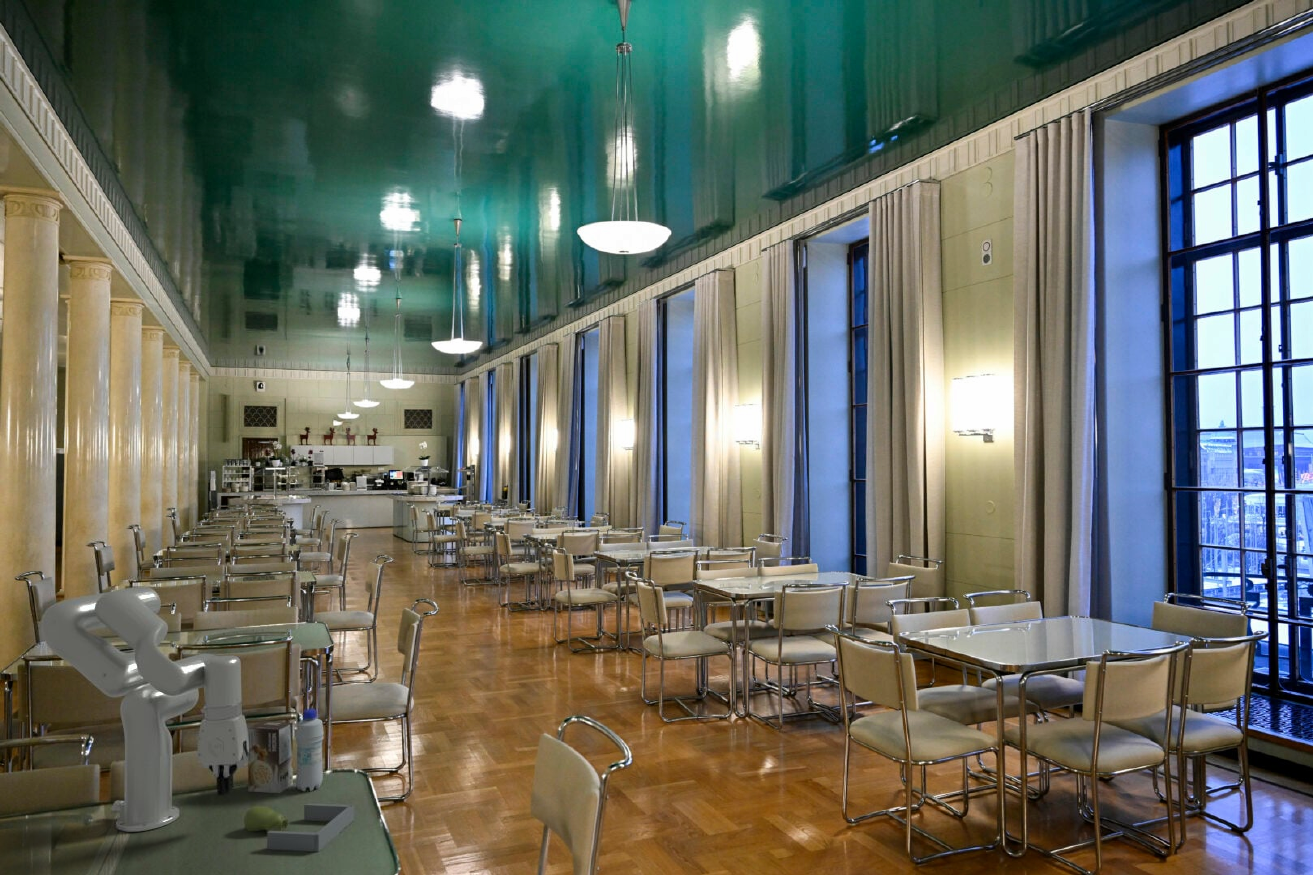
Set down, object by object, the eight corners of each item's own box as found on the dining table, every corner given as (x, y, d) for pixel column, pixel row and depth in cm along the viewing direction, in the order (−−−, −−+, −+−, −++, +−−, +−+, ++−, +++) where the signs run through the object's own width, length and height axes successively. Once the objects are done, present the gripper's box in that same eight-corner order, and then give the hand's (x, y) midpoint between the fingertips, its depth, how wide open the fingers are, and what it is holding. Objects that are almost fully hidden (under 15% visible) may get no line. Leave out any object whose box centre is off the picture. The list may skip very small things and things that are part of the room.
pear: (256, 799, 195) (294, 809, 193) (253, 822, 195) (291, 832, 193) (240, 808, 190) (279, 819, 188) (236, 832, 190) (275, 843, 188)
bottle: (313, 793, 213) (313, 713, 214) (289, 792, 214) (290, 712, 215) (328, 784, 219) (329, 706, 220) (305, 782, 221) (306, 704, 221)
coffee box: (294, 784, 219) (294, 721, 220) (279, 793, 213) (279, 729, 214) (262, 782, 221) (262, 720, 221) (246, 791, 215) (246, 727, 215)
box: (267, 849, 182) (267, 832, 182) (306, 818, 198) (306, 803, 198) (318, 851, 181) (318, 834, 181) (354, 820, 196) (354, 805, 197)
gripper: (182, 716, 191) (183, 799, 190) (244, 716, 189) (245, 799, 188) (203, 707, 198) (205, 786, 197) (263, 706, 197) (265, 787, 196)
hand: (225, 792), depth 193 cm, fingers closed
